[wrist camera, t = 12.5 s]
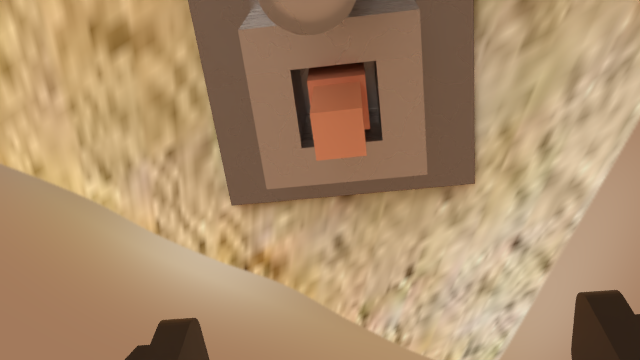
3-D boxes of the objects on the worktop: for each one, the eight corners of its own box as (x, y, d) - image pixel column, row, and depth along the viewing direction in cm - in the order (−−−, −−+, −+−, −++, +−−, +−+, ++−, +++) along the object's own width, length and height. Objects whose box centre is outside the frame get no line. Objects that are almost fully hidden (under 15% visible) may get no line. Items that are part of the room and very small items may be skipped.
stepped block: (311, 55, 36) (302, 108, 28) (362, 49, 36) (367, 101, 28) (317, 103, 37) (311, 167, 29) (367, 97, 37) (373, 160, 29)
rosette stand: (172, -98, 33) (29, -72, 18) (468, -138, 32) (583, -146, 17) (234, 198, 41) (171, 386, 26) (471, 176, 40) (549, 361, 25)
